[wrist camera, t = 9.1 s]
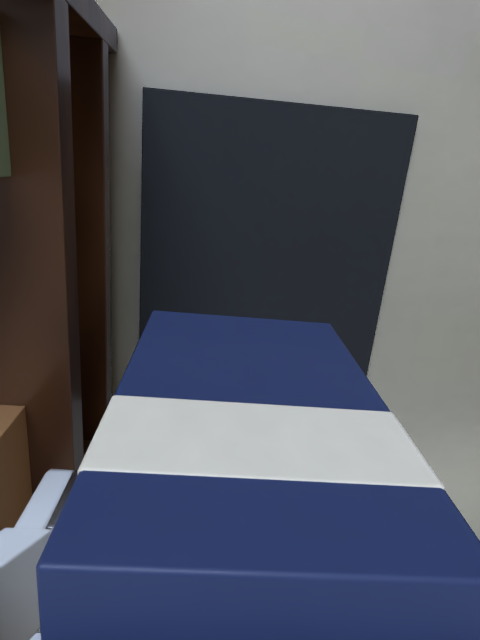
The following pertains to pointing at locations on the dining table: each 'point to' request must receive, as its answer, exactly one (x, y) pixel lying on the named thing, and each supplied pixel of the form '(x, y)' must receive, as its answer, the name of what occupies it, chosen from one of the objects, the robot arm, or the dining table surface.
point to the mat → (270, 209)
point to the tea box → (254, 501)
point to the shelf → (56, 226)
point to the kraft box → (13, 465)
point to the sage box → (3, 127)
